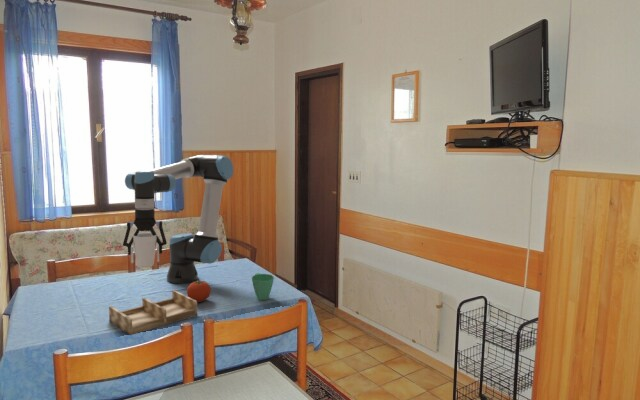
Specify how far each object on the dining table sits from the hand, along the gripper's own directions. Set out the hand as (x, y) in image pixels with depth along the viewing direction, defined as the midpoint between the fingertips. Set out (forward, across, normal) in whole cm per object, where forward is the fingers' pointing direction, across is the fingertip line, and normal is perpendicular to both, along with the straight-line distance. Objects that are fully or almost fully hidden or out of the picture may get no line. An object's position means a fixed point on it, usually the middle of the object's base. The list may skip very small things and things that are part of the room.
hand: (145, 261), depth 190 cm
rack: (+21, +4, -11) cm, 24 cm away
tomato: (+20, +22, +4) cm, 30 cm away
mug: (+20, +50, +3) cm, 54 cm away
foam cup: (+2, 0, 0) cm, 2 cm away
